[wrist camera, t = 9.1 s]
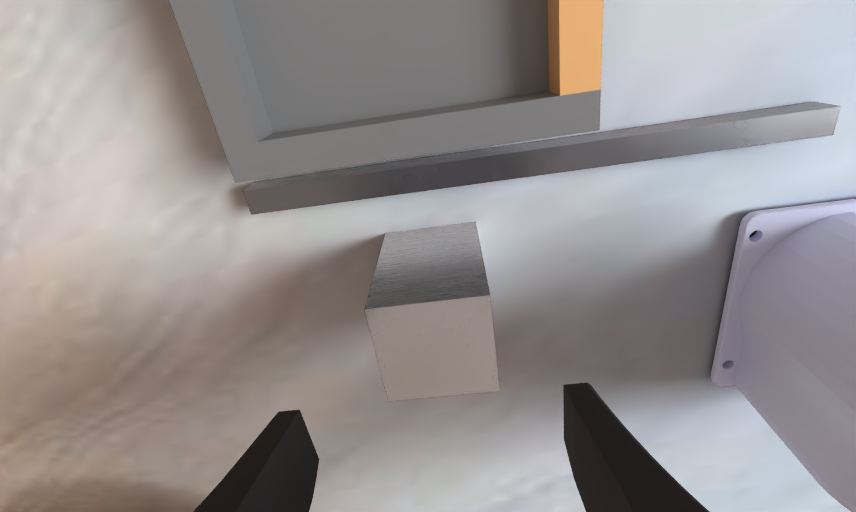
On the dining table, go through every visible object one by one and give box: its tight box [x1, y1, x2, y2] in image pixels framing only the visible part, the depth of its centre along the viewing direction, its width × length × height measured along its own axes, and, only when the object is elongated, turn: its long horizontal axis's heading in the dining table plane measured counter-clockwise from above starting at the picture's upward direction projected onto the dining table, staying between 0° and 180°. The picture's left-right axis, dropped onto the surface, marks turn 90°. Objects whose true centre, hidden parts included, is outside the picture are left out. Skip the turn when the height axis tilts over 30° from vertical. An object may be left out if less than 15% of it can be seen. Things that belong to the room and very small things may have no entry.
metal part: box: [364, 222, 500, 401], centre depth 17 cm, size 4×4×6 cm
